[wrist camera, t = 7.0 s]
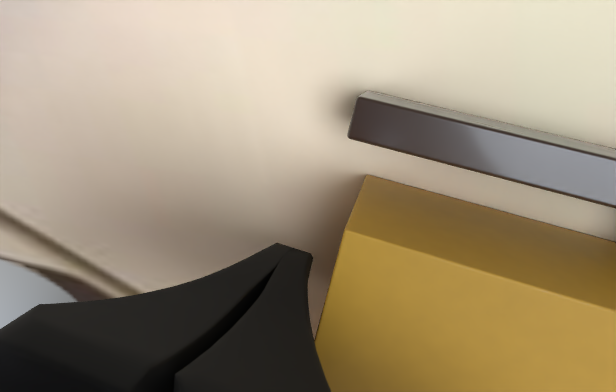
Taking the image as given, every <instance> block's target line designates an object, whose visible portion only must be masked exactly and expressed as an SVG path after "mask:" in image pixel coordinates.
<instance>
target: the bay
mask: <svg viewBox="0 0 616 392" xmlns="http://www.w3.org/2000/svg"><path fill="white" fill-rule="evenodd" d="M347 135H348V138H349V139H352V140H356V141H360V142H364V143H368V144H371V145H375V146H379V147H383V148H387V149H391V150H394V151H398V152H402V153H406V154H410V155H414V156H417V157H421V158H425V159H429V160H433V161H437V162H440V163H444V164H448V165H452V166H456V167H459V168H463V169H467V170H471V171H475V172H479V173H482V174H486V175H490V176H494V177H498V178H502V179H505V180H509V181H513V182H517V183H521V184H524V185H528V186H532V187H536V188H540V189H544V190H547V191H551V192H555V193H559V194H563V195H567V196H570V197H574V198H578V199H582V200H586V201H590V202H593V203H597V204H601V205H605V206H609V207H612V208H616V149H613V148H609V147H605V146H601V145H596V144H592V143H588V142H584V141H580V140H575V139H571V138H567V137H563V136H559V135H554V134H550V133H546V132H542V131H537V130H533V129H529V128H525V127H521V126H516V125H512V124H508V123H504V122H500V121H495V120H491V119H487V118H483V117H479V116H474V115H470V114H466V113H462V112H458V111H453V110H449V109H445V108H441V107H437V106H432V105H428V104H424V103H420V102H415V101H411V100H407V99H403V98H399V97H394V96H390V95H386V94H382V93H378V92H373V91H366V92H364V93H363V94H361V95H360V96H358V97H357V99H356V102H355V106H354V110H353V114H352V118H351V122H350V126H349V130H348V134H347Z"/></svg>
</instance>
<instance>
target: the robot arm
mask: <svg viewBox="0 0 616 392" xmlns="http://www.w3.org/2000/svg"><path fill="white" fill-rule="evenodd" d="M312 262H313V256H312V255H311V253H308V252H305V251H301V250H298V249H295V248H292V247H289V246H286V245H283V244H279V243H276V244H274V245H272V246H270V247H268V248H266V249H264V250H262V251H260V252H258V253H256V254H254V255H252V256H250V257H248V258H246V259H244V260H242V261H240V262H238V263H236V264H234V265H232V266H230V267H227V268H225V269H222V270H220V271H218V272H215V273H213V274H211V275H208V276H205V277H203V278H200V279H197V280H194V281H190V282H187V283H184V284H181V285H177V286H174V287H170V288H165V289H161V290H156V291H152V292H147V293H143V294H138V295H132V296H126V297H120V298H112V299H105V300H96V301H87V302H72V303H57V304H39V305H37V306H36V307H34V308H32V309H31V310H29V311H28V312H26V313H25V314H23V315H21V316H20V317H18V318H17V319H16V320H14V321H12V322H11V323H9V324H8V325H6V326H4V327H3V328H2V329H0V392H331V390H330V387H329V385H328V382H327V380H326V377H325V374H324V371H323V368H322V366H321V363H320V360H319V357H318V354H317V350H316V346H315V342H314V338H313V334H312V329H311V323H310V316H309V308H308V278H309V274H310V270H311V266H312Z"/></svg>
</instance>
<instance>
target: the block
mask: <svg viewBox="0 0 616 392" xmlns="http://www.w3.org/2000/svg"><path fill="white" fill-rule="evenodd" d="M314 342H315V346H316V350H317V354H318V357H319V360H320V363H321V366H322V368H323V371H324V374H325V377H326V380H327V382H328V385H329V387H330V390H331V392H616V242H612V241H609V240H605V239H601V238H598V237H594V236H590V235H587V234H583V233H579V232H576V231H572V230H568V229H565V228H561V227H557V226H554V225H550V224H546V223H543V222H539V221H535V220H532V219H528V218H524V217H521V216H517V215H513V214H510V213H506V212H502V211H499V210H495V209H491V208H488V207H484V206H481V205H477V204H473V203H470V202H466V201H462V200H459V199H455V198H451V197H448V196H444V195H440V194H437V193H433V192H429V191H426V190H422V189H418V188H415V187H411V186H407V185H404V184H400V183H396V182H393V181H389V180H385V179H382V178H378V177H374V176H371V175H366V177H365V180H364V182H363V185H362V187H361V190H360V192H359V195H358V197H357V200H356V202H355V205H354V207H353V210H352V212H351V214H350V217H349V219H348V222H347V224H346V227H345V229H344V232H343V236H342V240H341V244H340V247H339V251H338V255H337V258H336V262H335V266H334V270H333V273H332V277H331V281H330V284H329V288H328V292H327V296H326V299H325V303H324V307H323V311H322V314H321V318H320V322H319V325H318V329H317V333H316V337H315V340H314Z"/></svg>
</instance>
